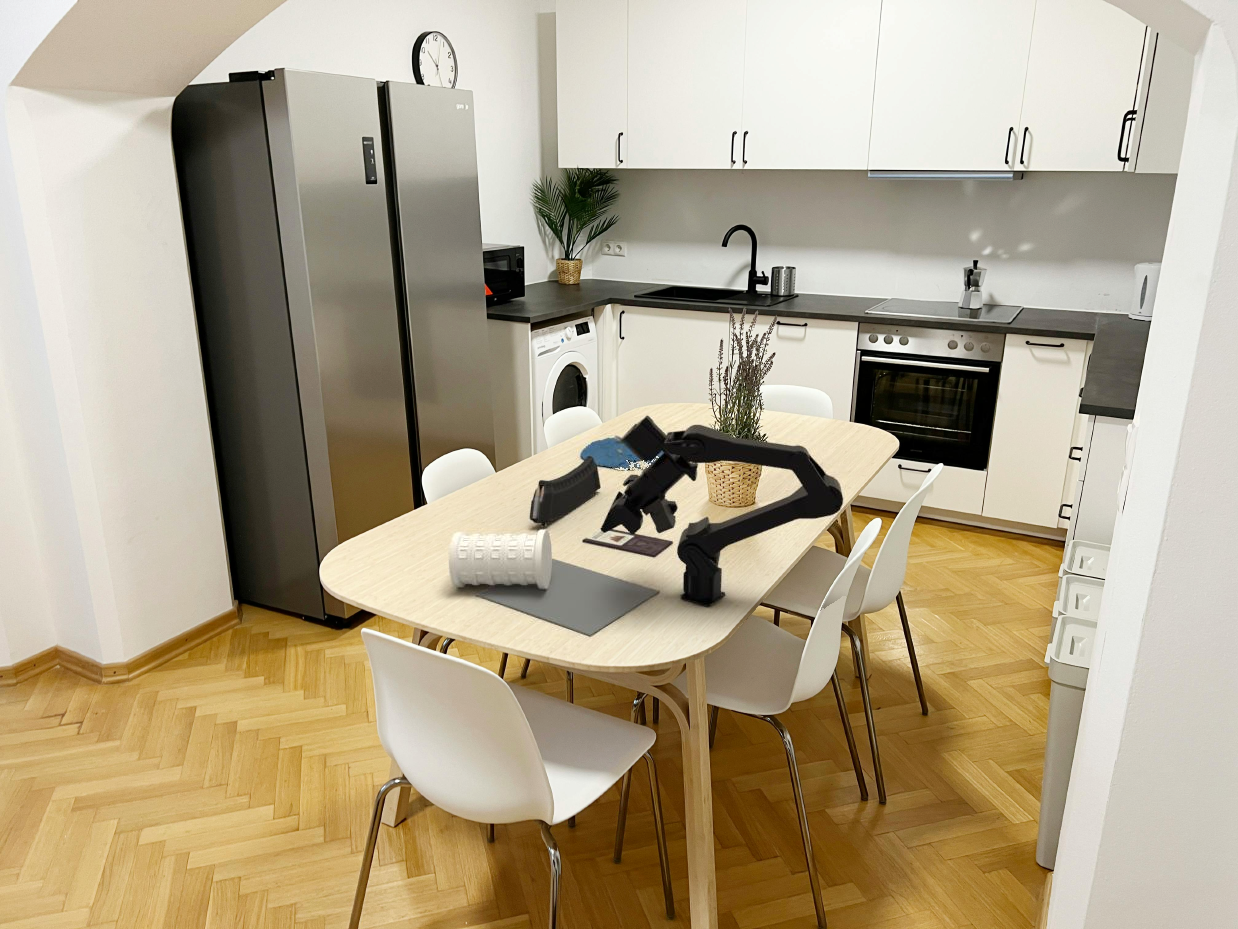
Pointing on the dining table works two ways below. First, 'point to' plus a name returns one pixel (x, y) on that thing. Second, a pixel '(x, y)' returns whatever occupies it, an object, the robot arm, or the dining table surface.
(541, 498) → the magazine
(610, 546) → the chocolate bar
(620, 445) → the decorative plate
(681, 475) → the robot arm
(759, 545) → the dining table surface
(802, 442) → the dining table surface
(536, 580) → the decorative container
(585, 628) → the rubber mat
